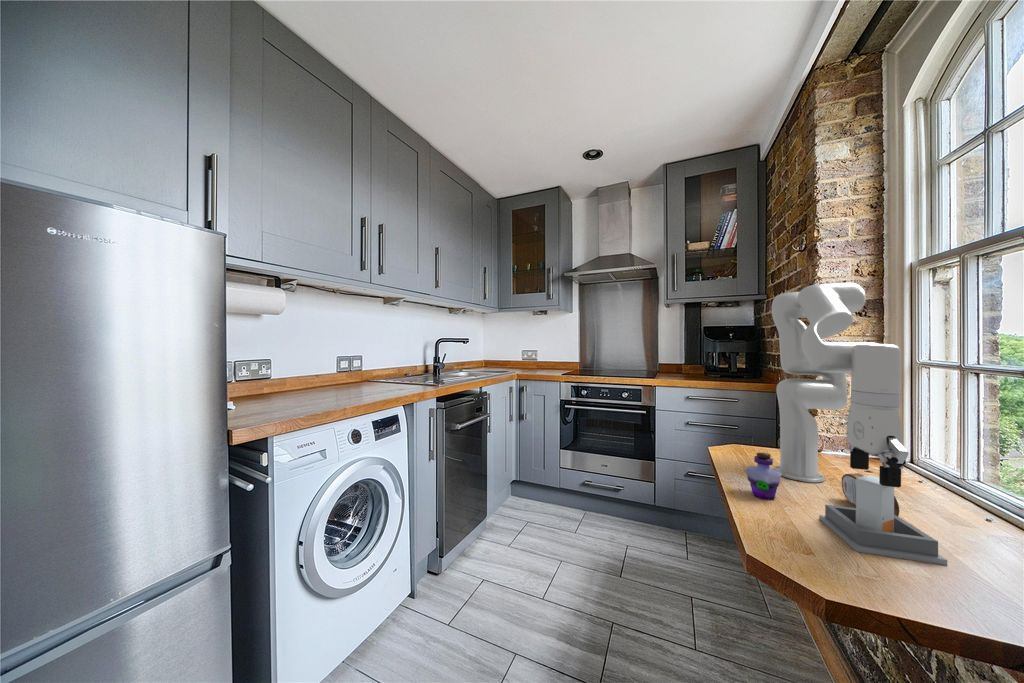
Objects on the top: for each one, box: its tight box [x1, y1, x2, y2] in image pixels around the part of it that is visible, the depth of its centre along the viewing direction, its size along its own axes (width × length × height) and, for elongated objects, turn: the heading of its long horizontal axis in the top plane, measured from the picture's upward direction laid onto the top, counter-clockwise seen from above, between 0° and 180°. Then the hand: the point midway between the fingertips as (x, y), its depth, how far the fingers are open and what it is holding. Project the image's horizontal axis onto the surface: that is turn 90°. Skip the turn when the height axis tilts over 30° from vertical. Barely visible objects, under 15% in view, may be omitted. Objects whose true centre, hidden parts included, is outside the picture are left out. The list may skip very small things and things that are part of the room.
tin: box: [841, 472, 900, 517], centre depth 89 cm, size 15×3×8 cm, turn 168°
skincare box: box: [855, 474, 895, 533], centre depth 76 cm, size 6×4×12 cm
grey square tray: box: [818, 504, 948, 566], centre depth 75 cm, size 14×14×4 cm
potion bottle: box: [745, 452, 782, 501], centre depth 97 cm, size 9×9×12 cm
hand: (873, 476), depth 76 cm, fingers open, 9 cm apart
